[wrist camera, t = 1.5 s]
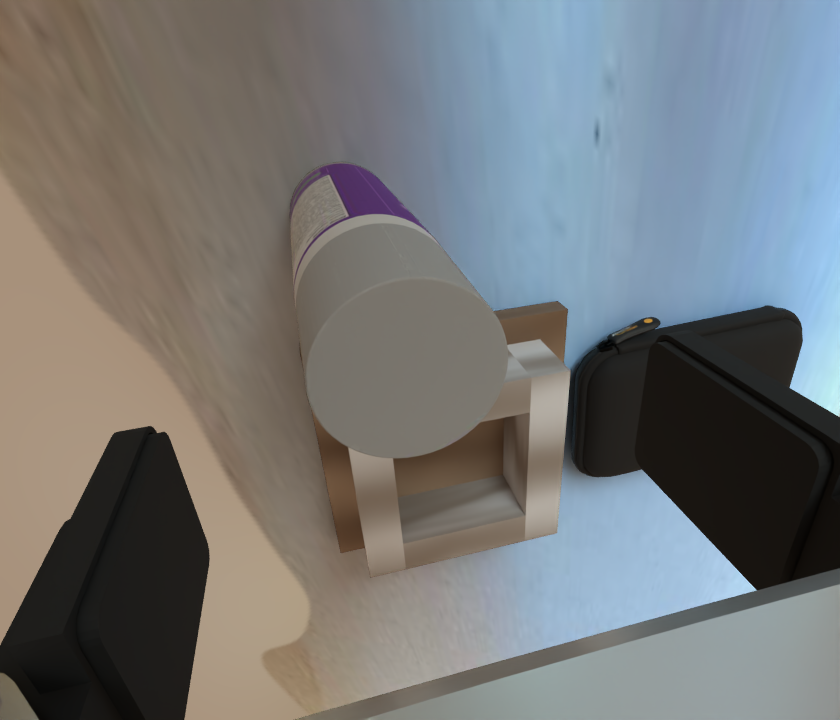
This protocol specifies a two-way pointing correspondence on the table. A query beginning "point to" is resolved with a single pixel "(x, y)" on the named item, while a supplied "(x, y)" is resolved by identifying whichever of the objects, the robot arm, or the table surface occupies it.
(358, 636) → the table surface
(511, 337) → the mount
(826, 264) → the table surface
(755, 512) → the robot arm
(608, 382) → the carrying case or bag
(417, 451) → the container
